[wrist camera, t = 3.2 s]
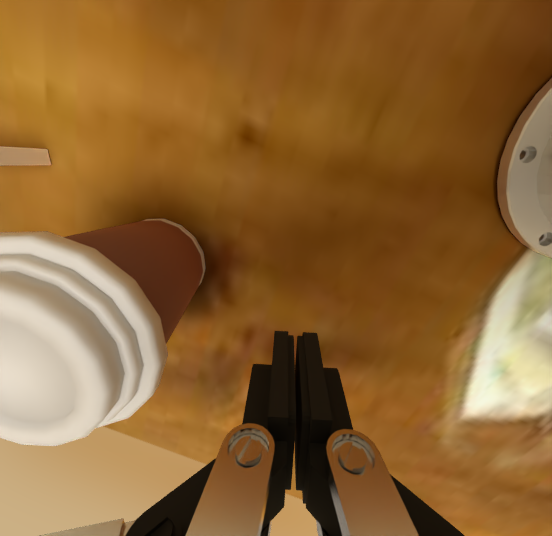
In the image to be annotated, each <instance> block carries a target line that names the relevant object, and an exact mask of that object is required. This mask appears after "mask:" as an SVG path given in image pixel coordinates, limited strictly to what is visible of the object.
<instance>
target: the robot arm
mask: <svg viewBox="0 0 552 536" xmlns="http://www.w3.org/2000/svg"><path fill="white" fill-rule="evenodd" d="M497 191H498V203H499V206H500V210H501V214H502V217H503V219H504V221H505V223H506V225H507V226H508V228H509V230H510V232H511V233H512V234H513V235H514V236H515V237H516V238H517V239H518V240H519V241H520V242H521V243H522V244H523V245H525V246H527V247H528V248H530V249H531V250H533V251H534V252H537V253H539V254H542V255H544V256H547V257H549V258H552V78H551V79H550V80H549V81H548V82H547V83H546V84H545V85H544V86H543V87H542V89H541V90H540V91H539V92H538V93H537V94H536V95H535V96H534V98H533V99H532V100H531V102H530V103H529V105H528V106H527V107H526V109H525V110H524V111H523V113H522V114H521V115H520V117H519V119H518V121H517V123H516V125H515V126H514V128H513V130H512V132H511V134H510V136H509V138H508V140H507V143H506V146H505V149H504V152H503V155H502V157H501V161H500V167H499V173H498V179H497ZM294 441H295V474H296V490H302V493H303V503H305V504H306V508H307V510H308V511H309V512H310V513H311V514H312V516H313V517H314V518H315V519H316V522H317V531H318V536H464V535H463V534H462V533H461V532H460V531H459V530H457V529H456V528H455V527H454V526H452V525H451V524H450V523H449V522H448V521H446V520H445V519H444V518H443V517H441V516H440V515H439V514H438V513H437V512H435V511H434V510H433V509H432V508H430V507H429V506H428V505H427V504H426V503H424V502H423V501H422V500H421V499H420V498H418V497H417V496H416V495H415V494H413V493H412V492H411V491H410V490H409V489H407V488H406V487H405V486H404V485H402V484H401V483H400V482H399V481H398V480H396V479H395V478H394V477H393V476H392V475H390V473H389V471H388V469H387V467H386V465H385V463H384V461H383V459H382V457H381V454H380V452H379V450H378V449H377V447H376V446H375V444H374V443H373V442H372V441H371V440H370V439H369V438H368V437H367V436H365V435H364V434H362V433H360V432H358V431H355V430H353V427H352V423H351V419H350V415H349V411H348V407H347V403H346V399H345V395H344V391H343V387H342V383H341V379H340V375H339V372H338V369H337V368H323V364H322V358H321V353H320V347H319V341H318V336H317V333H306V332H303V336H298V337H297V350H296V364H295V365H294V337H293V336H292V335H288V332H286V331H275V334H274V347H273V360H272V365H264V364H253V367H252V372H251V378H250V384H249V389H248V395H247V401H246V406H245V412H244V418H243V423H242V425H239V426H237V427H235V428H233V429H232V430H231V431H230V432H229V433H228V434H227V435H226V437H225V439H224V441H223V443H222V445H221V448H220V450H219V453H218V455H217V458H216V459H214V460H213V461H212V462H210V463H209V464H208V465H206V466H205V467H204V468H202V469H201V470H200V471H198V472H197V473H196V474H194V475H193V476H192V477H191V478H189V479H188V480H186V481H185V482H184V483H182V484H181V485H180V486H178V487H177V488H176V489H174V491H172V492H170V493H169V494H168V495H167V496H165V497H164V498H163V499H161V500H160V501H159V502H157V503H156V504H155V505H153V506H152V507H151V508H149V509H148V510H147V511H145V512H144V513H143V514H142V515H141V516H140V517H139V518H138V519H137V520H135V521H131V522H126V523H124V519H118V520H113V521H109V522H104V523H99V524H94V525H89V526H85V527H79V528H75V529H70V530H65V531H60V532H55V533H50V534H45V535H40V536H269V535H270V529H271V520H272V519H273V518H274V517H275V516H276V515H277V514H278V513H279V512H280V510H281V509H282V508H283V507H284V500H285V499H284V498H285V489H287V490H291V479H292V467H293V454H294Z"/></svg>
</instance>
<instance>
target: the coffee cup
mask: <svg viewBox="0 0 552 536" xmlns="http://www.w3.org/2000/svg"><path fill="white" fill-rule="evenodd" d="M205 269H206V266H205V259H204V252H203V250H202V248H201V247H200V245H199V243H198V241H197V240H196V238H195V237H194V236H193V235H192V234H191V233H190V232H189V231H188V230H186V229H185V228H184V227H183V226H182V225H180V224H177V223H174V222H172V221H169V220H167V219H146V220H143V221H139V222H134V223H129V224H124V225H119V226H115V227H110V228H105V229H100V230H95V231H91V232H86V233H81V234H76V235H72V236H67V237H61V236H59V235H56V234H53V233H50V232H48V231H45V232H1V233H0V438H3V439H6V440H9V441H12V442H16V443H19V444H22V445H43V446H57V445H61V444H64V443H67V442H71V441H74V440H77V439H80V438H84V437H87V436H88V435H89V434H90V433H91V432H92V431H93V430H94V429H95V428H98V427H101V426H104V425H107V424H111V423H114V422H117V421H120V420H123V419H126V418H129V417H130V416H132V415H133V414H134V413H135V412H136V411H137V410H138V409H139V408H140V407H141V406H142V405H143V404H144V403H145V402H146V401H147V400H148V399H149V398H150V397H151V396H152V395H153V394H154V392H155V391H156V389H157V388H158V386H159V384H160V381H161V377H162V374H163V370H164V367H165V363H166V359H167V356H168V352H167V347H166V343H167V341H168V340H169V338H170V336H171V334H172V333H173V331H174V329H175V327H176V326H177V324H178V322H179V320H180V318H181V317H182V315H183V313H184V311H185V310H186V308H187V306H188V304H189V303H190V301H191V299H192V297H193V295H194V294H195V292H196V290H197V288H198V287H199V285H200V284H201V283H202V279H203V276H204V273H205Z"/></svg>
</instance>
